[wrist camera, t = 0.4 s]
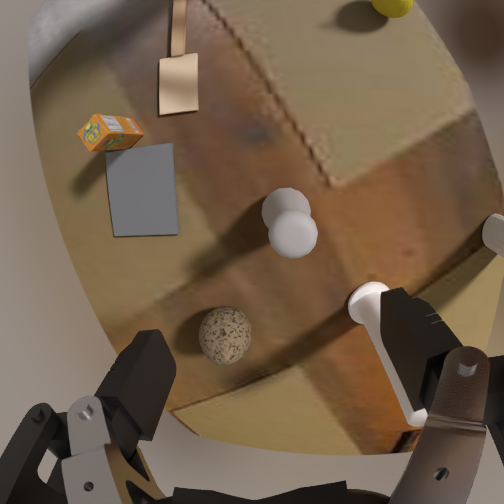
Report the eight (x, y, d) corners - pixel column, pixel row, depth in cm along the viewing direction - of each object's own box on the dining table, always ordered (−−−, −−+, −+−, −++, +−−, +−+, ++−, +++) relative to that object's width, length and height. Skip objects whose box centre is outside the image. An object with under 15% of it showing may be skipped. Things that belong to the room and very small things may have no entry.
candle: (353, 279, 39) (428, 418, 15) (396, 282, 38) (486, 403, 15) (342, 321, 41) (391, 464, 18) (383, 322, 41) (448, 450, 17)
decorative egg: (230, 286, 40) (220, 327, 31) (263, 320, 42) (261, 365, 32) (196, 313, 42) (178, 355, 32) (228, 343, 43) (219, 388, 34)
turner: (165, -6, 26) (163, -9, 25) (199, -13, 25) (197, -16, 25) (161, 115, 32) (158, 114, 32) (198, 110, 32) (196, 109, 31)
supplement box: (129, 151, 34) (87, 154, 25) (116, 133, 33) (73, 132, 24) (146, 135, 33) (108, 132, 24) (133, 117, 33) (93, 110, 23)
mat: (107, 152, 34) (105, 152, 34) (172, 143, 34) (171, 143, 33) (116, 234, 38) (114, 236, 38) (179, 232, 38) (178, 234, 37)
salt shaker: (264, 231, 37) (261, 272, 25) (259, 187, 35) (255, 206, 23) (309, 228, 37) (328, 267, 24) (306, 184, 35) (327, 201, 22)
